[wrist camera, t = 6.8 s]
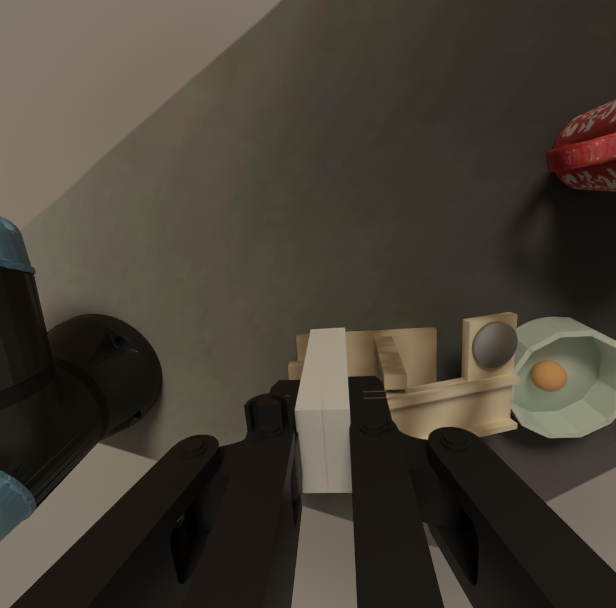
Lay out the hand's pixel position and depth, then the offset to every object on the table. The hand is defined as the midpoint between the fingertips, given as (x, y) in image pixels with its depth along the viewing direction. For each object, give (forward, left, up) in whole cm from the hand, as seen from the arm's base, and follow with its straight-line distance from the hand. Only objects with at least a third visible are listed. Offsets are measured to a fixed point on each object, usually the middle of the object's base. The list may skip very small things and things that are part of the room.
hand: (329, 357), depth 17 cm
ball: (+23, -14, -24) cm, 36 cm away
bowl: (+24, -14, -26) cm, 38 cm away
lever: (+4, -11, -20) cm, 23 cm away
